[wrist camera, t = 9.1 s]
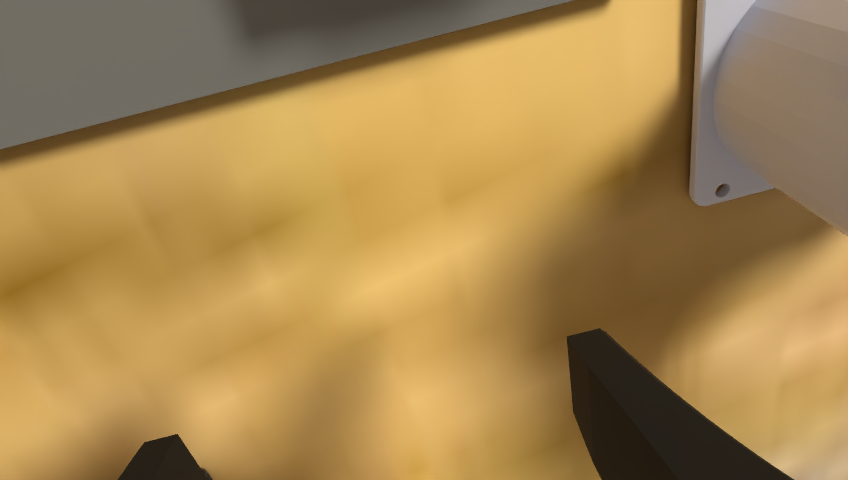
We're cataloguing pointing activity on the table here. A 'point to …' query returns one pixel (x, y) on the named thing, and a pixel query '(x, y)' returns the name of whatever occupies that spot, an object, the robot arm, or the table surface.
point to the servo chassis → (191, 49)
